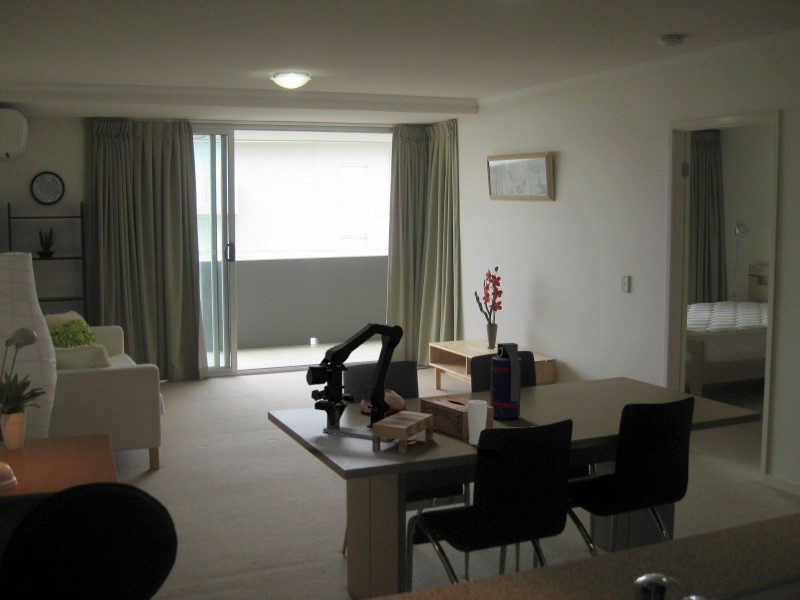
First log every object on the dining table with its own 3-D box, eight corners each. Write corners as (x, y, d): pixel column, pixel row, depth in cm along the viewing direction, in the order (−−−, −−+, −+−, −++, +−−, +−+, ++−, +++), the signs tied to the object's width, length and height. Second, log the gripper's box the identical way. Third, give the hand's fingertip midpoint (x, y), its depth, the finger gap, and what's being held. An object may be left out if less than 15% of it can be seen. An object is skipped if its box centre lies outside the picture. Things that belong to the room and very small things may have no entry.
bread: (351, 412, 341) (351, 388, 341) (389, 406, 353) (389, 383, 353) (375, 418, 328) (375, 392, 328) (414, 411, 340) (413, 387, 340)
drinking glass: (469, 440, 296) (470, 399, 294) (487, 442, 294) (488, 400, 292) (465, 445, 289) (465, 403, 288) (484, 447, 287) (485, 404, 286)
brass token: (403, 440, 296) (404, 436, 296) (419, 442, 294) (419, 439, 294) (396, 444, 291) (396, 440, 291) (411, 446, 288) (411, 442, 288)
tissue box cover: (420, 424, 320) (420, 398, 319) (449, 419, 328) (450, 394, 327) (462, 439, 299) (463, 411, 298) (493, 433, 307) (493, 407, 306)
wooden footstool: (402, 435, 302) (403, 410, 301) (432, 439, 297) (433, 414, 296) (372, 450, 282) (372, 424, 281) (404, 454, 276) (404, 428, 275)
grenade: (484, 415, 335) (486, 341, 332) (510, 413, 339) (512, 340, 336) (501, 423, 322) (503, 346, 319) (528, 420, 326) (530, 345, 324)
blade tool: (331, 428, 310) (331, 408, 309) (394, 438, 298) (395, 416, 297) (323, 432, 304) (323, 411, 304) (387, 441, 293) (387, 420, 292)
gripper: (329, 376, 316) (329, 417, 317) (302, 385, 299) (301, 427, 301) (354, 379, 311) (354, 420, 312) (328, 388, 294) (328, 431, 296)
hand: (334, 424), depth 306 cm, fingers closed on blade tool, 2 cm apart
